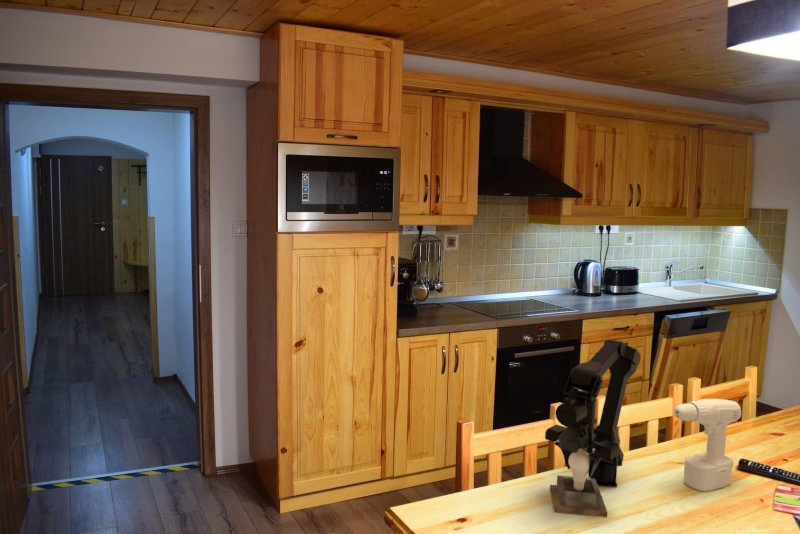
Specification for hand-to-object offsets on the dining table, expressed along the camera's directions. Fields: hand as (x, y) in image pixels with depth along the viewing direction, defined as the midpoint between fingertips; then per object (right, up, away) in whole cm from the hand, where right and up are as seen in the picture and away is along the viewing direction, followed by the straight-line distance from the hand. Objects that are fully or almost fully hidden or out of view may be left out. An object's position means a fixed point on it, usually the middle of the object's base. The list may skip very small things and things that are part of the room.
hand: (579, 472), depth 169 cm
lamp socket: (0, -8, +1) cm, 8 cm away
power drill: (+38, -8, +13) cm, 41 cm away
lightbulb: (0, -5, +1) cm, 5 cm away
